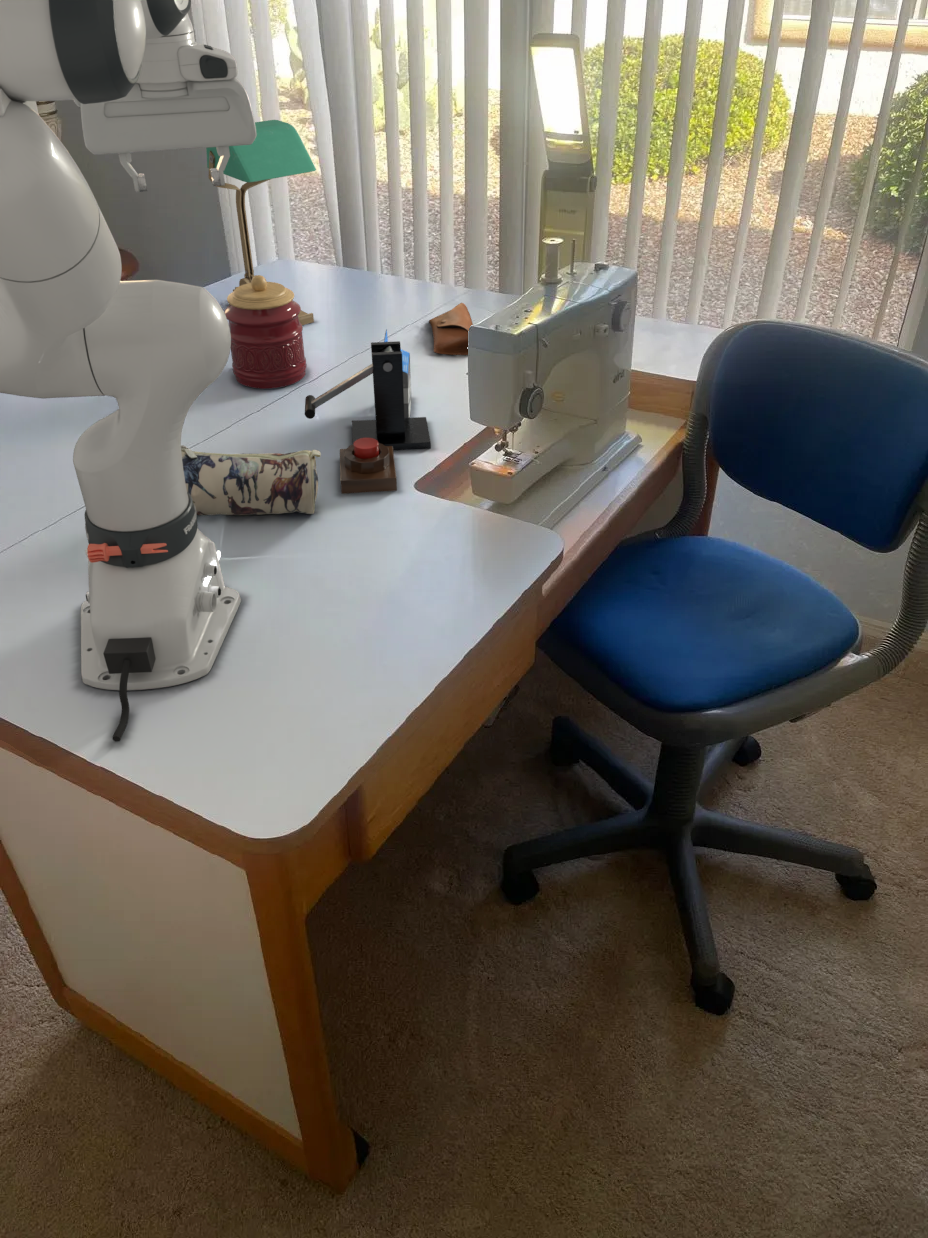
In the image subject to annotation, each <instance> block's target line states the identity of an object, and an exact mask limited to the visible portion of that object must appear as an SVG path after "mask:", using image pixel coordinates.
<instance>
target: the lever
mask: <svg viewBox="0 0 928 1238" xmlns="http://www.w3.org/2000/svg"><path fill="white" fill-rule="evenodd" d="M381 352H394V351H393V349H392V348H391V346H389V347H387V348H386V349H384V350H382V351H381ZM371 375H373V363H372V362H371V363H370V364H369V365H367V366H366V367H365V368H362V369H361V370H359V371H358V372H356V373H355V374H353V375H351V376H349V377H347V379H345V380H342V382H340V383H338V384H337V385H335V386H333V387H332V388H330V389H329V390H327V391H325V392H324V393H322V394H321V395H318V396H317V397H315V396H314V395H312V394H307V395H306V396H305V398H304V416H305V417H306V418H307V419H314V418H315V416H316V409H317V408H319V407H320V406H323V404H325V403H327V402H329V401H331V400H332V399H334V398H335V397H337V396H339V395H341V394H342V393H343V392H344V391H347V390H348V389H349V388H351V387H353V386H354V385H356V384H358V383H360V382H361V381H363V380H364V379H366V378H367V377H370V376H371Z"/></svg>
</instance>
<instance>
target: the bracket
mask: <svg viewBox="0 0 928 1238" xmlns="http://www.w3.org/2000/svg"><path fill="white" fill-rule="evenodd" d="M389 346H391V348H392V349H393V351H394V352H381V351H382V350H384V349H386V348H387V347H389ZM370 348H371V349H370V350H371V364H372V363H373V373H372V382H373V385H372V386H373V402H374V416H375V417H374V419H361V420H357V419H356V420H351V433H352V434H351V435H352V445H353V444H354V442H355V441H356V440H358V439H360V438H373V439H376V440H377V441H378V443H381V444H383V445H385V446H393V452H394V451H410V450H413V451H414V450H427V449H428V450H429V449H430V450H431V449H432V441H431V437H430V431H429V425H428V420H427V417H426V416H420V417H419V416H417V417H410V418H405V415H404V391H403V366H402V352H401V349H402V348H401V341H398V340H397V341H388V342H384V341H376V342H370Z"/></svg>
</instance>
